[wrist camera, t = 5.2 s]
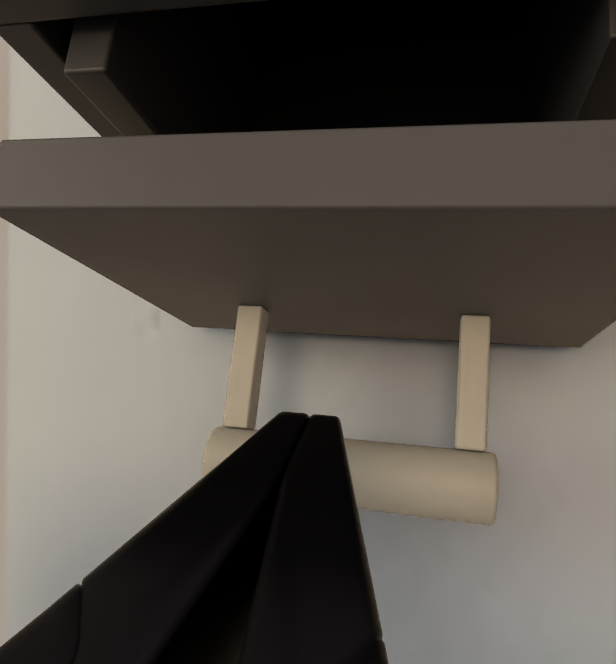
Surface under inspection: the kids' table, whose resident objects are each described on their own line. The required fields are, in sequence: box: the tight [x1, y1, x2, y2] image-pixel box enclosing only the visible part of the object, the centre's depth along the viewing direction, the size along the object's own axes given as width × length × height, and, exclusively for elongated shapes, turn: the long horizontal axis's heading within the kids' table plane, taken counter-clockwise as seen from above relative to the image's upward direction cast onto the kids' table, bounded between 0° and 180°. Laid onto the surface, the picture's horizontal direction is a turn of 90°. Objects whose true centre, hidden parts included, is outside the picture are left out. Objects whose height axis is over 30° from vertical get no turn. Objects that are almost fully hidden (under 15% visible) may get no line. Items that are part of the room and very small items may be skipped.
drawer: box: [0, 0, 616, 525], centre depth 12 cm, size 22×10×8 cm, turn 174°
